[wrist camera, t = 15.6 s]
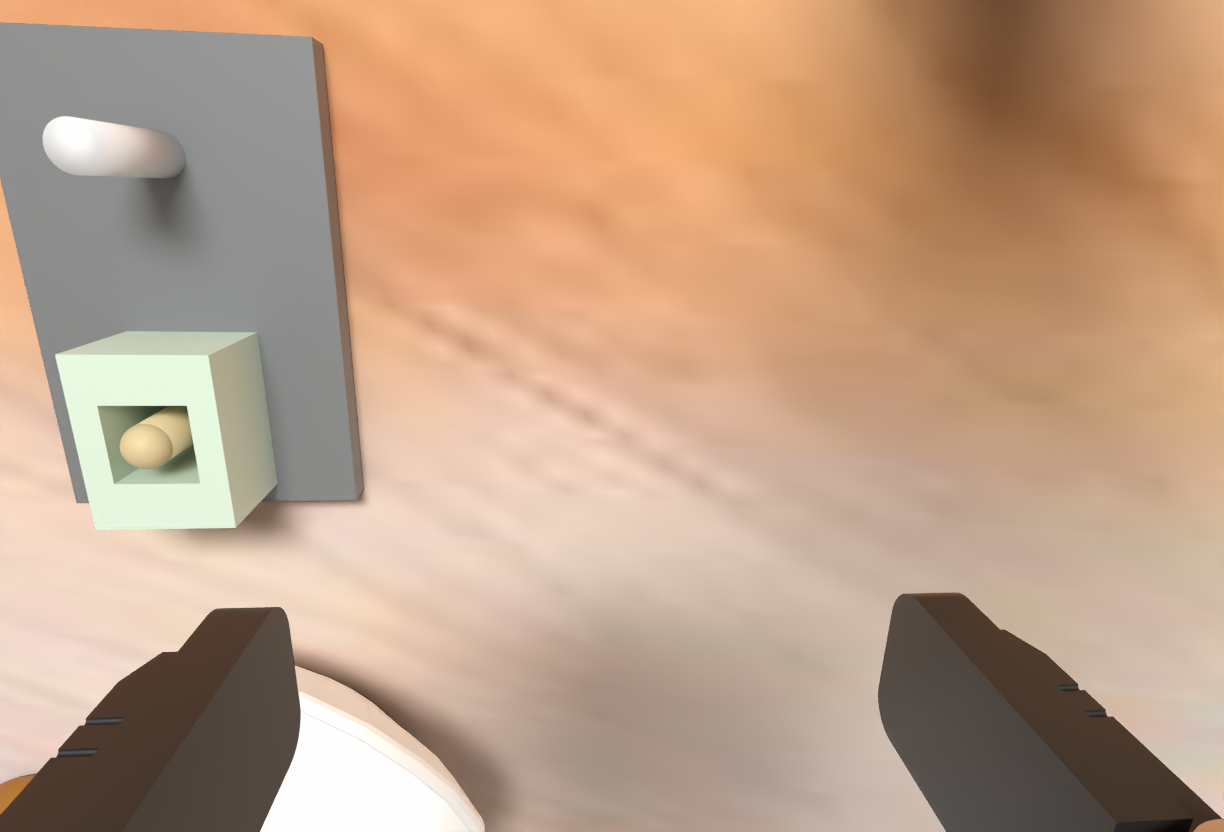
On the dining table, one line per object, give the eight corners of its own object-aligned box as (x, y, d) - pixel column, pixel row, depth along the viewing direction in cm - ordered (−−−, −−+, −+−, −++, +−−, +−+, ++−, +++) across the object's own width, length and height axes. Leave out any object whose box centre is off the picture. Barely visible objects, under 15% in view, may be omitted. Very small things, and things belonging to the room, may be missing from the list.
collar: (126, 331, 33) (54, 354, 28) (257, 332, 33) (207, 355, 29) (156, 484, 35) (95, 530, 30) (277, 483, 36) (235, 527, 31)
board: (-9, 29, 30) (-185, -23, 23) (322, 44, 31) (254, -1, 24) (95, 491, 37) (-15, 562, 29) (363, 488, 38) (320, 556, 31)
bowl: (62, 768, 42) (-55, 906, 34) (247, 529, 38) (164, 620, 30) (351, 906, 47) (310, 1054, 39) (538, 709, 43) (535, 827, 35)
